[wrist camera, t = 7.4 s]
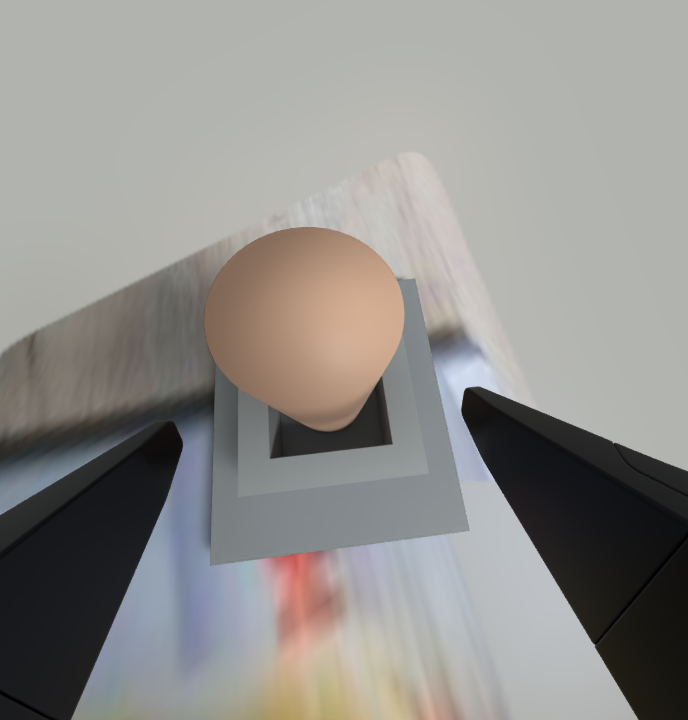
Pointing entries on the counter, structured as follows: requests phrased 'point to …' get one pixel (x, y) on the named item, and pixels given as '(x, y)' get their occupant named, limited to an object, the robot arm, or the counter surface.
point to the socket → (337, 465)
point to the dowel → (306, 323)
